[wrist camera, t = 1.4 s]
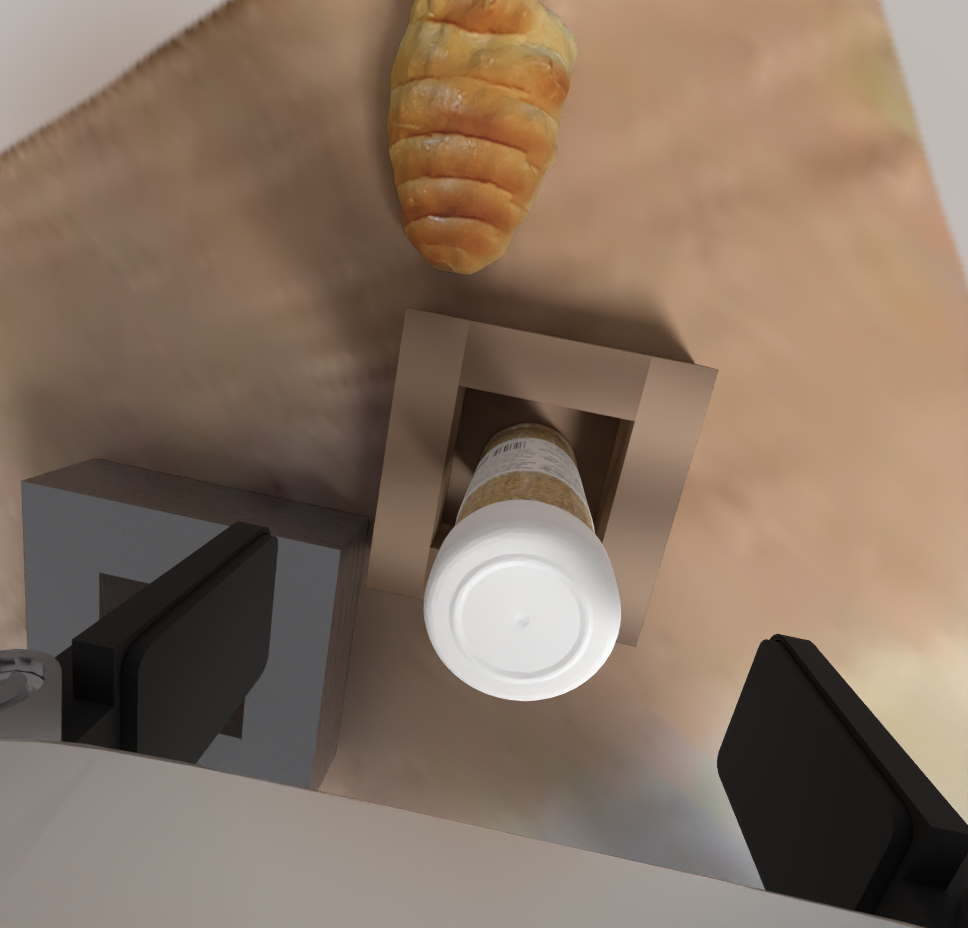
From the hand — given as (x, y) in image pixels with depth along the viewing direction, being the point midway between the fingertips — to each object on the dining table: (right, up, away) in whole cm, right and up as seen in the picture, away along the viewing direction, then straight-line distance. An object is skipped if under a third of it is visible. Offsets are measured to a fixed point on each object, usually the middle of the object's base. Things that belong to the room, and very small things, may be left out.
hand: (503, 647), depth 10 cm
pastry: (0, +17, +12) cm, 21 cm away
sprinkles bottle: (+2, +3, +15) cm, 15 cm away
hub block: (-14, -4, +18) cm, 23 cm away
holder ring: (+2, +3, +15) cm, 15 cm away
